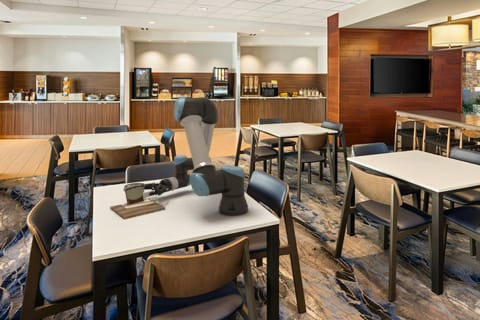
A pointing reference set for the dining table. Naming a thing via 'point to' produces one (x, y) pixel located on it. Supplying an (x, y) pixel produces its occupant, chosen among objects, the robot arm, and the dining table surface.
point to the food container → (134, 193)
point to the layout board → (137, 208)
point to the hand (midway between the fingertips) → (136, 193)
